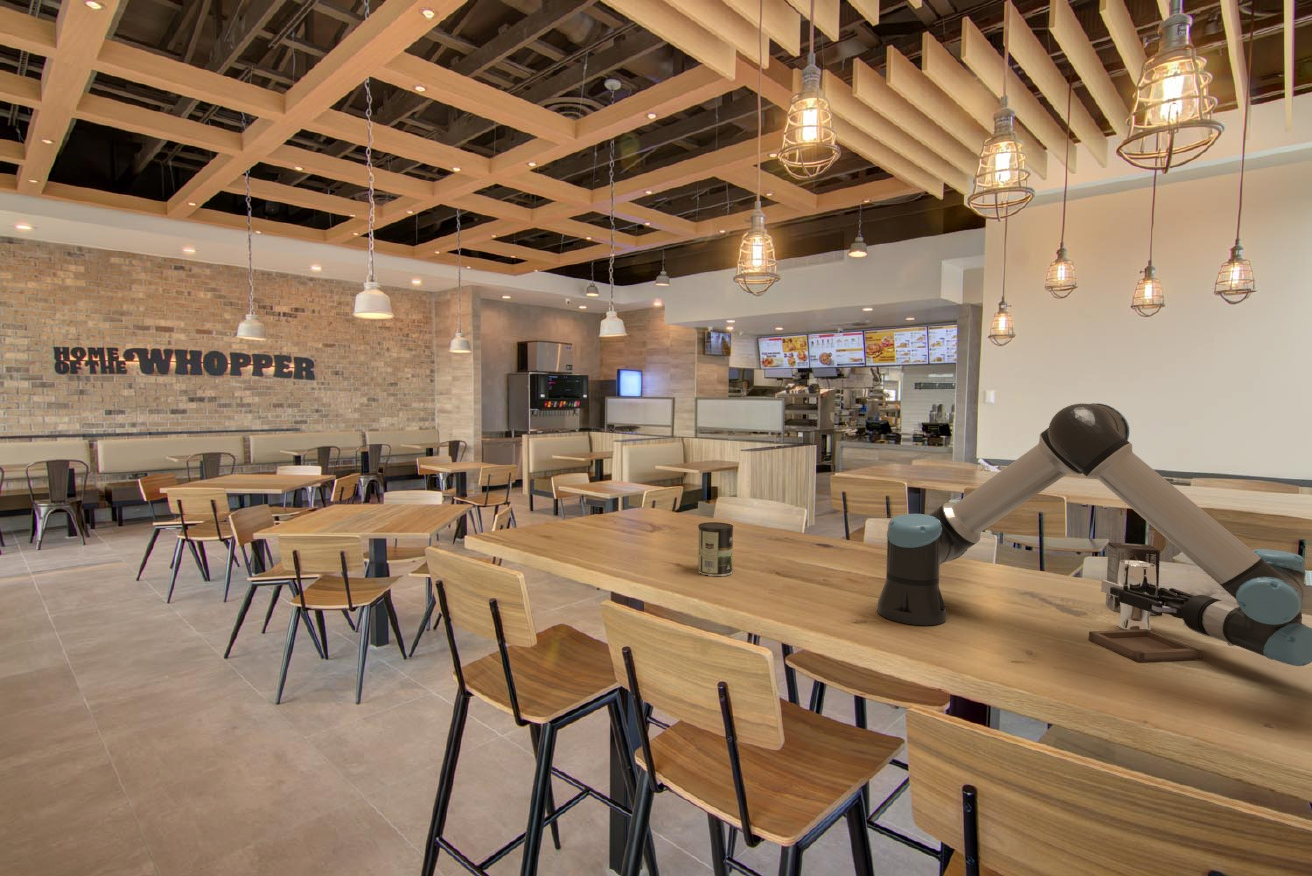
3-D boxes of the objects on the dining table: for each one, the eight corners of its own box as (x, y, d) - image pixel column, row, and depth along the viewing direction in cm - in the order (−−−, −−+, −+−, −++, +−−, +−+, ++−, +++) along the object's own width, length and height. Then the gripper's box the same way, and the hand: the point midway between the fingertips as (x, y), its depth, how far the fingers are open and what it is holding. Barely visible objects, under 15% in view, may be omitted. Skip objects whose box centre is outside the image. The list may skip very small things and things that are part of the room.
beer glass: (1140, 624, 146) (1143, 560, 145) (1161, 634, 139) (1165, 567, 138) (1108, 622, 147) (1111, 558, 146) (1127, 633, 140) (1131, 566, 139)
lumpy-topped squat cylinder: (1202, 636, 139) (1204, 597, 138) (1173, 617, 151) (1175, 582, 151) (1260, 642, 136) (1263, 602, 135) (1225, 622, 148) (1228, 586, 148)
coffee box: (1147, 608, 158) (1150, 544, 157) (1158, 616, 152) (1161, 549, 151) (1104, 603, 161) (1107, 541, 160) (1113, 611, 155) (1116, 546, 154)
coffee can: (730, 567, 192) (731, 522, 191) (734, 577, 182) (735, 528, 181) (696, 567, 192) (697, 521, 191) (698, 576, 182) (699, 528, 181)
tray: (1138, 662, 124) (1138, 653, 124) (1088, 639, 136) (1089, 631, 136) (1200, 659, 126) (1201, 650, 126) (1146, 637, 138) (1146, 628, 138)
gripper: (1172, 639, 124) (1078, 602, 146) (1258, 635, 126) (1152, 599, 149) (1174, 601, 123) (1080, 570, 146) (1260, 598, 126) (1154, 568, 149)
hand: (1116, 585), depth 148 cm, fingers closed on beer glass, 7 cm apart
